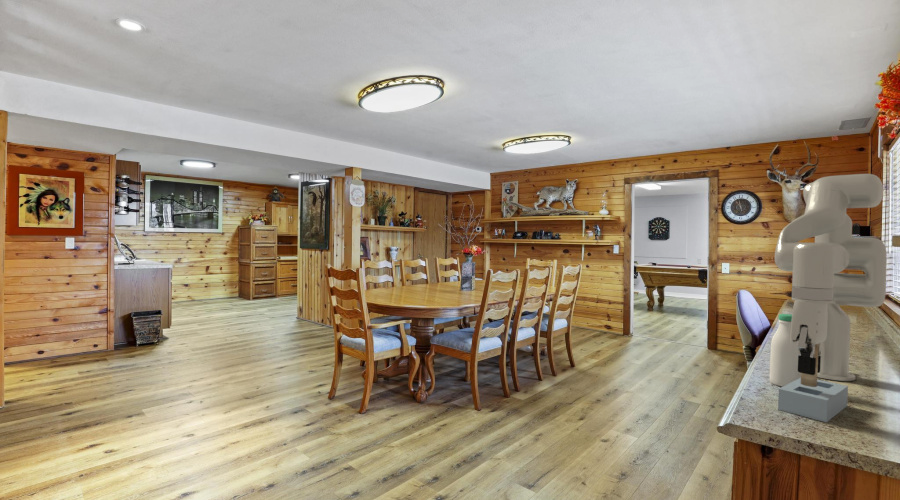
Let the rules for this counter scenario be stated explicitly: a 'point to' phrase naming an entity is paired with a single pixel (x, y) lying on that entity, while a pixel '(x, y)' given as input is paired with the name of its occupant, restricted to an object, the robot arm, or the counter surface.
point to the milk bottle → (784, 354)
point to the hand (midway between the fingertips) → (808, 371)
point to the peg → (811, 379)
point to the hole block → (813, 399)
